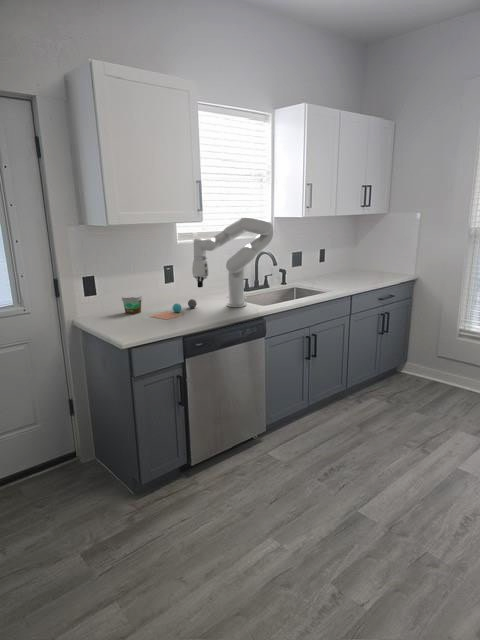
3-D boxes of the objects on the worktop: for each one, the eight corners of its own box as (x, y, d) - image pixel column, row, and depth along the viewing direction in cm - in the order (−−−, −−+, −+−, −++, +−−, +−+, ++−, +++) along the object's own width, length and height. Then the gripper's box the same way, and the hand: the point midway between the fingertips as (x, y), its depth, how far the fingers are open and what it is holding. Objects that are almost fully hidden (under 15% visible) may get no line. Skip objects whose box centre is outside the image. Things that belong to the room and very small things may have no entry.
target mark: (166, 311, 264) (166, 311, 264) (183, 314, 256) (183, 314, 256) (149, 316, 253) (149, 316, 252) (167, 319, 245) (167, 319, 245)
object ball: (177, 311, 265) (176, 302, 264) (183, 312, 262) (183, 303, 261) (170, 312, 261) (170, 303, 259) (177, 313, 258) (177, 305, 256)
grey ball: (192, 306, 276) (191, 298, 275) (198, 307, 273) (198, 299, 272) (186, 308, 272) (185, 299, 270) (192, 309, 269) (192, 300, 267)
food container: (120, 315, 258) (119, 298, 255) (123, 312, 264) (121, 296, 261) (141, 314, 258) (140, 298, 256) (143, 312, 264) (142, 296, 261)
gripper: (212, 258, 271) (213, 287, 276) (194, 257, 279) (195, 285, 284) (205, 260, 265) (205, 289, 270) (186, 258, 273) (187, 286, 278)
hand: (200, 287), depth 277 cm, fingers closed
